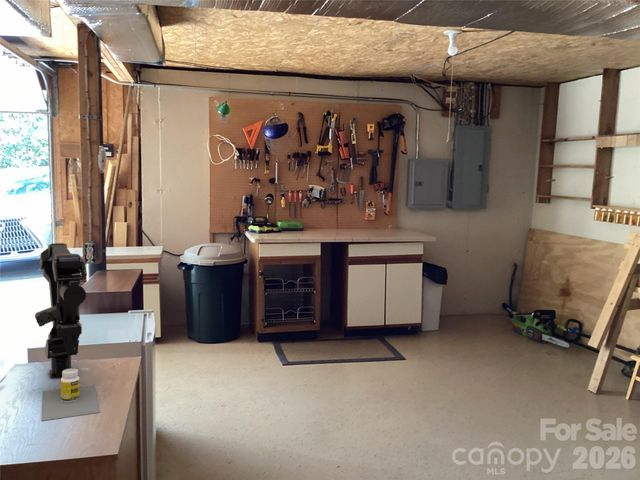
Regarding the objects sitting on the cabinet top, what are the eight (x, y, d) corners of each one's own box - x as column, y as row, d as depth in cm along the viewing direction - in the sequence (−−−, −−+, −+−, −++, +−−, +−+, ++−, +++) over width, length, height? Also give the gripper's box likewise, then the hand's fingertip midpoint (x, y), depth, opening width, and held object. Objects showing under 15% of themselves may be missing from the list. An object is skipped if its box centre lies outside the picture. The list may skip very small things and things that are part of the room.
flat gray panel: (42, 391, 151) (42, 391, 151) (95, 385, 158) (95, 384, 158) (41, 421, 134) (41, 420, 134) (100, 412, 140) (100, 411, 140)
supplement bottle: (72, 404, 144) (71, 374, 143) (57, 402, 145) (56, 372, 144) (83, 397, 149) (83, 368, 148) (68, 395, 149) (68, 366, 148)
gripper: (37, 292, 155) (38, 343, 157) (35, 307, 139) (36, 364, 140) (78, 290, 160) (79, 339, 162) (81, 305, 144) (82, 359, 145)
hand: (68, 350), depth 152 cm, fingers open, 7 cm apart
